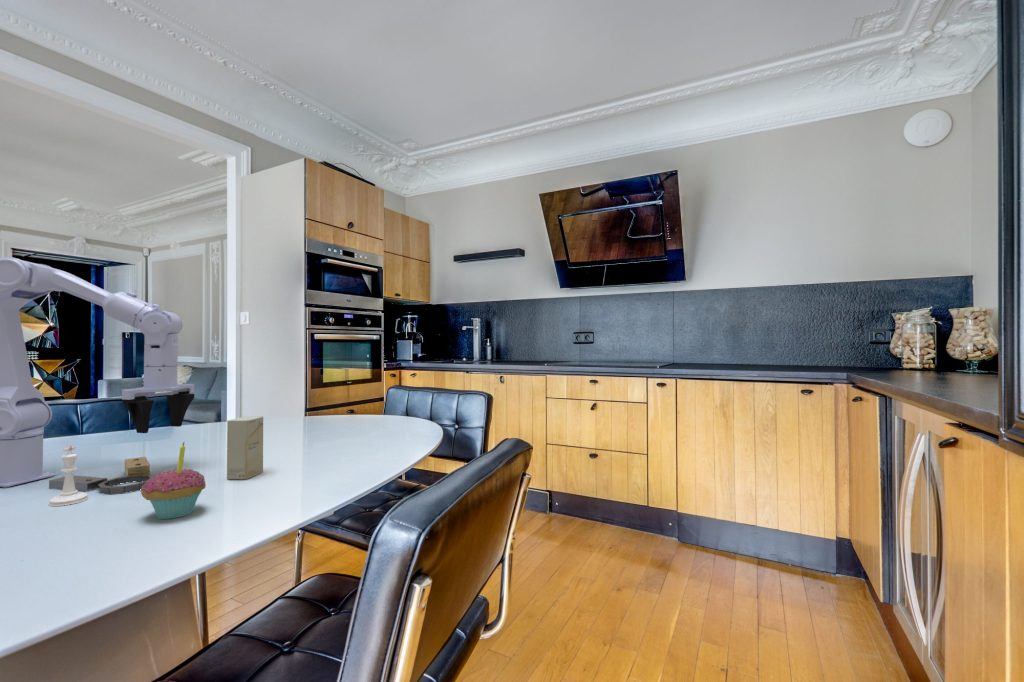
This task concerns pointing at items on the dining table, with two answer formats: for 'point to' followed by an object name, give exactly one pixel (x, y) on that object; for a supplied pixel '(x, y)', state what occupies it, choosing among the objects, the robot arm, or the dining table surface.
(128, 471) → the tan wooden block
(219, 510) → the dining table surface
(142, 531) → the dining table surface
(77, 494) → the chess piece
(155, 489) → the cupcake
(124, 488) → the dark gray flat piece
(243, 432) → the skincare box
